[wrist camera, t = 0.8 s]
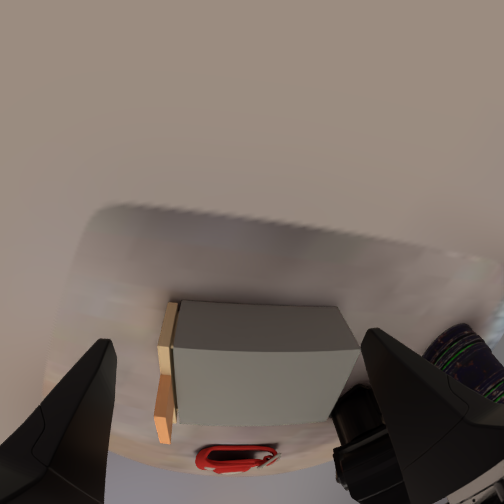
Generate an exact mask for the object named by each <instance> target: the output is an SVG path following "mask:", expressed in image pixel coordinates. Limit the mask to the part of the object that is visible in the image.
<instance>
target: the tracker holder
mask: <svg viewBox="0 0 504 504" xmlns="http://www.w3.org/2000/svg"><path fill="white" fill-rule="evenodd" d="M249 450H260V451H268V452H270V453H272V454H273V456H271V455H268V456H265V457H264V458H263V460H260V459H243V460H230V461H214V460H210V459H208V458H207V456H208V454H209V453H210V452H211V451H249ZM280 455H281V453H278V454H277V452H276V451H275V450H274V449H273V448H270V447H264V446H213V447H209V448H205V449H203V450H201V451H200V452H199V453H198V454H197V456H196V460H195V463H196V466H197V467H198V468H199V469H202V470H213V471H214V472H216V473H219V474H237V473H241V472H245V471H247V470H249V469H250V468H251V467H255V466H258V467H257V469H262V468H263V467H264V466H268V465H271V464H273V463H275V462H276V461H278V460H279V459H280V458H281V456H280ZM277 457H278V458H277ZM268 458H270V459H268Z"/></svg>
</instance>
